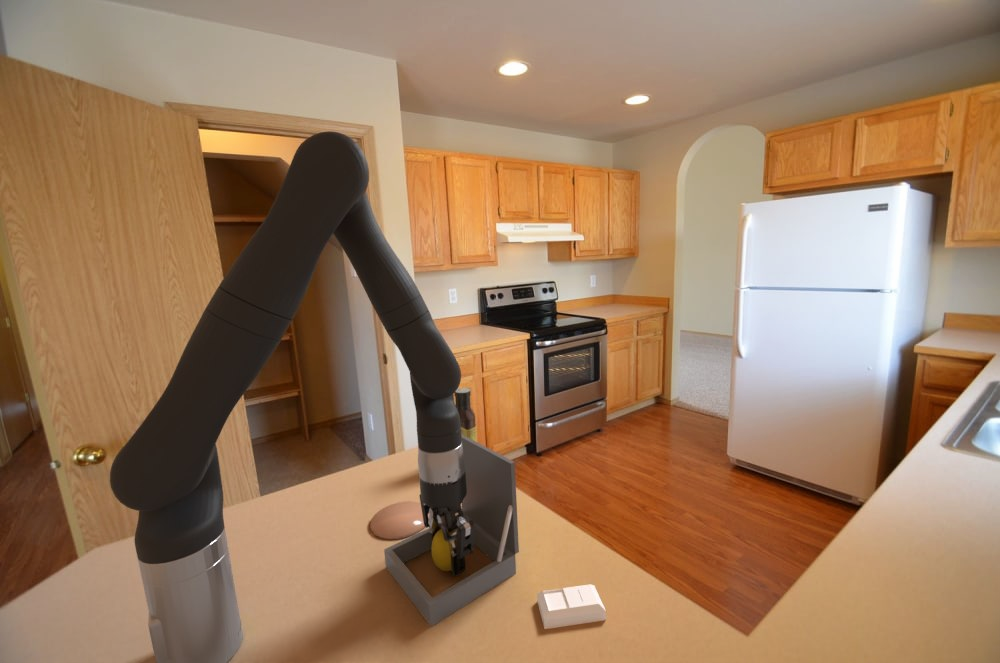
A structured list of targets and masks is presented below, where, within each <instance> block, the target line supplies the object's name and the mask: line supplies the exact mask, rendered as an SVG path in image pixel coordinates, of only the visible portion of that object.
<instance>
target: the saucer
mask: <svg viewBox="0 0 1000 663" xmlns="http://www.w3.org/2000/svg"><path fill="white" fill-rule="evenodd" d="M429 515H430V514H429V513H428V519H429ZM425 528H426V527H425V525H424V521H423V515H422V508H421V502H417V501H401V502H400V501H399V502H396V503H392V504H389V505H388V506H385V507H383V508H382V509H380V510H379V511H377V512H376V513H375V514H374V515H373V517H371V521H370V530H371V532H372V534H373V535H374V536H376V537H378V538H380V539H384V540H401V539H407V538H409V537H412V536H414V535H416V534H418V533H420V532H422V530H423V529H424V530H425ZM424 530H423V531H424Z"/></svg>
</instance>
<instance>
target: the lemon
mask: <svg viewBox="0 0 1000 663" xmlns="http://www.w3.org/2000/svg"><path fill="white" fill-rule="evenodd" d="M456 531H457V529H455V530H453V531H451V532H449V535H451V534H453V533H455V532H456ZM454 544H455V547H456V546H457V539H456V540H455V541H454ZM430 552H431V557H432V560H433V562H434V565H435V566H436V567H437V568H438V569H439V570H441V571H443V572H452V566H451V552H450V548H449V544H448V542H445V540H444V537H443V533H442V529H440V530H439V531H438V532H437V533H436V534H435V536H434V538H433V541H432V548H431V549H430Z"/></svg>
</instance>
